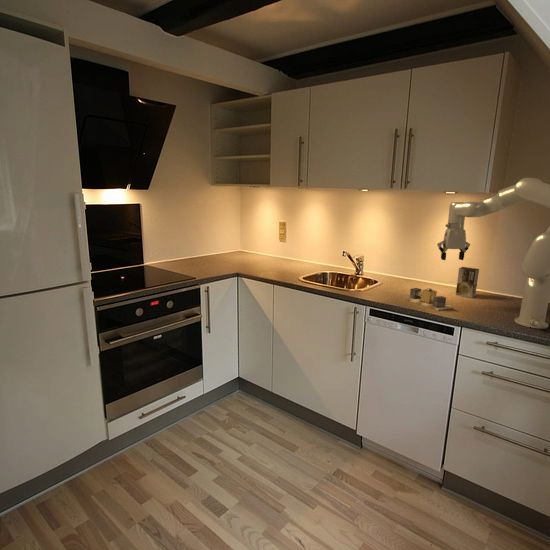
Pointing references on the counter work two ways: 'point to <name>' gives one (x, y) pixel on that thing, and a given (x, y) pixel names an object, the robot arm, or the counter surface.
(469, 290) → the coffee box
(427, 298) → the coupling block
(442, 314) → the counter surface
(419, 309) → the counter surface
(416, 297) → the shaft bench
